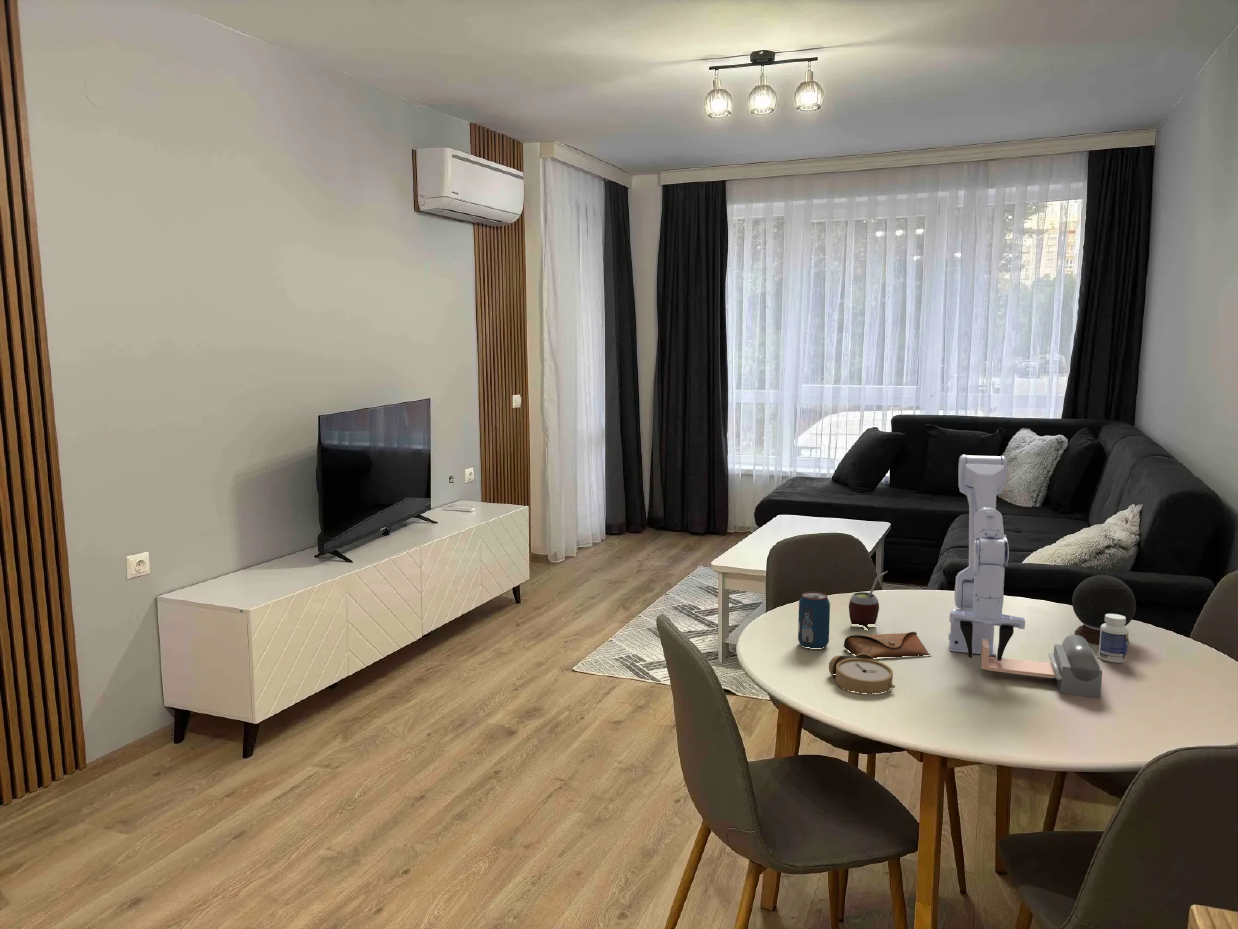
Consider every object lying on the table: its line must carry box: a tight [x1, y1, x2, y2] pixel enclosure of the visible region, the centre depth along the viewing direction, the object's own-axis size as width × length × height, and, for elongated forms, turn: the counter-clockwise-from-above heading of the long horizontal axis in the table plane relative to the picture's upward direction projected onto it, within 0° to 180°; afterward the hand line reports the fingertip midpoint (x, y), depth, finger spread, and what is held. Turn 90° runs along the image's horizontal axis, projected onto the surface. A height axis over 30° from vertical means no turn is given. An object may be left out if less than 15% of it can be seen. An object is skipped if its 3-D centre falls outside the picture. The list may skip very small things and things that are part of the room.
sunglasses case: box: [843, 631, 930, 658], centre depth 201 cm, size 18×7×7 cm, turn 102°
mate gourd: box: [848, 570, 888, 628], centre depth 218 cm, size 8×8×15 cm
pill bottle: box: [1098, 614, 1129, 664], centre depth 196 cm, size 5×5×10 cm
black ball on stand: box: [1071, 574, 1137, 646], centre depth 209 cm, size 13×13×15 cm
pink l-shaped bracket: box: [980, 638, 1056, 679], centre depth 186 cm, size 14×7×5 cm, turn 70°
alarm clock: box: [828, 653, 896, 694], centre depth 184 cm, size 11×5×15 cm
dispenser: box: [1048, 634, 1103, 699], centre depth 182 cm, size 8×14×8 cm, turn 160°
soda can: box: [797, 591, 831, 648], centre depth 205 cm, size 7×7×12 cm
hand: (984, 657), depth 188 cm, fingers open, 5 cm apart
